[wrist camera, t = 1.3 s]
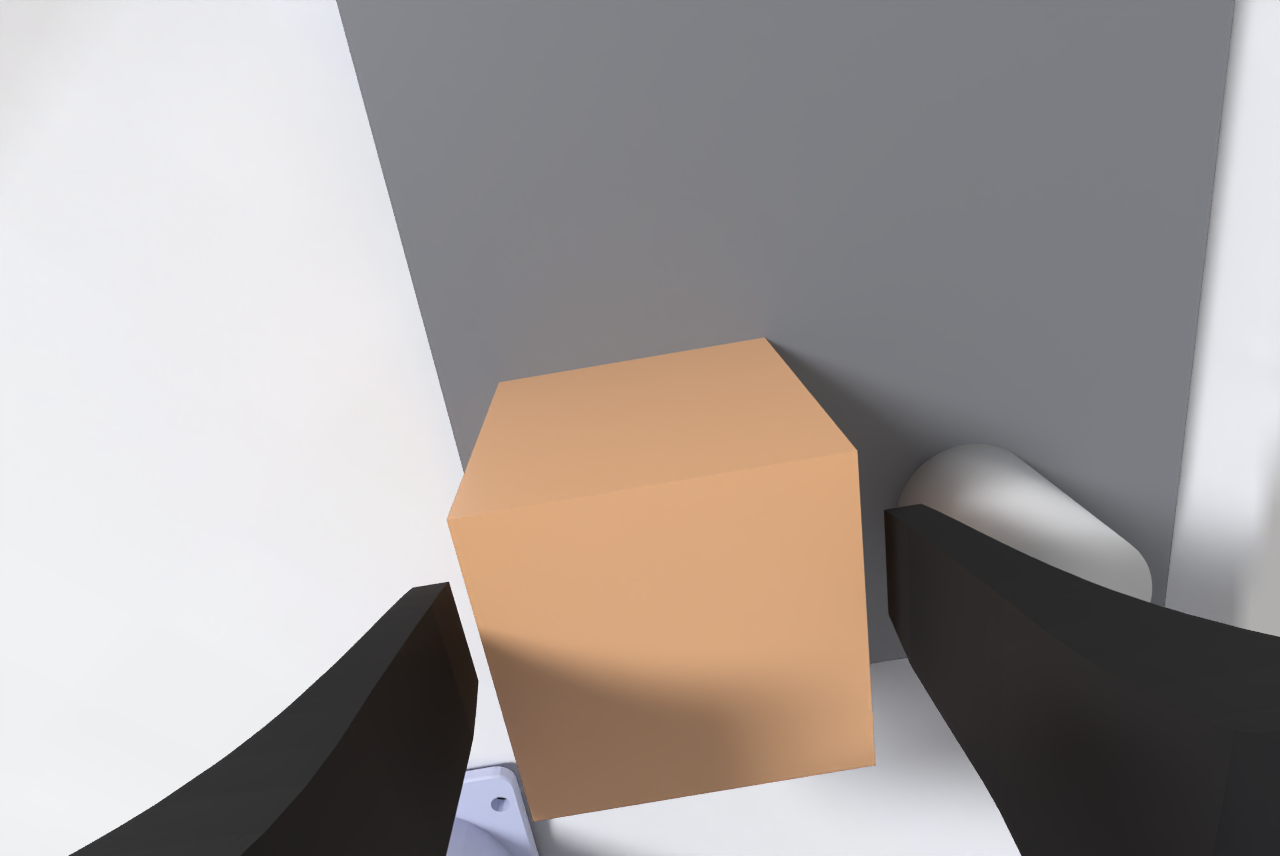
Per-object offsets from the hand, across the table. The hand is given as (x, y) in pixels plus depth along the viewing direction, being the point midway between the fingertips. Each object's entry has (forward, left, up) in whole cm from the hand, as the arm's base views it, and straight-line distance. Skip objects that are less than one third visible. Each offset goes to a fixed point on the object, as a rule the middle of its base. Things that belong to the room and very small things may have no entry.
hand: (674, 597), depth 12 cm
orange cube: (0, 0, -5) cm, 5 cm away
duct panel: (+3, -4, -6) cm, 7 cm away
